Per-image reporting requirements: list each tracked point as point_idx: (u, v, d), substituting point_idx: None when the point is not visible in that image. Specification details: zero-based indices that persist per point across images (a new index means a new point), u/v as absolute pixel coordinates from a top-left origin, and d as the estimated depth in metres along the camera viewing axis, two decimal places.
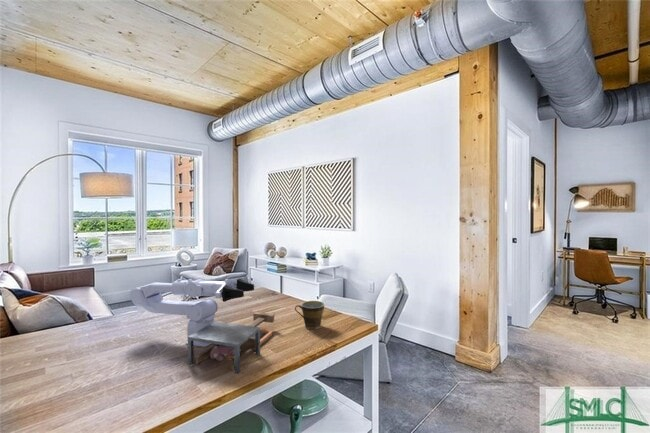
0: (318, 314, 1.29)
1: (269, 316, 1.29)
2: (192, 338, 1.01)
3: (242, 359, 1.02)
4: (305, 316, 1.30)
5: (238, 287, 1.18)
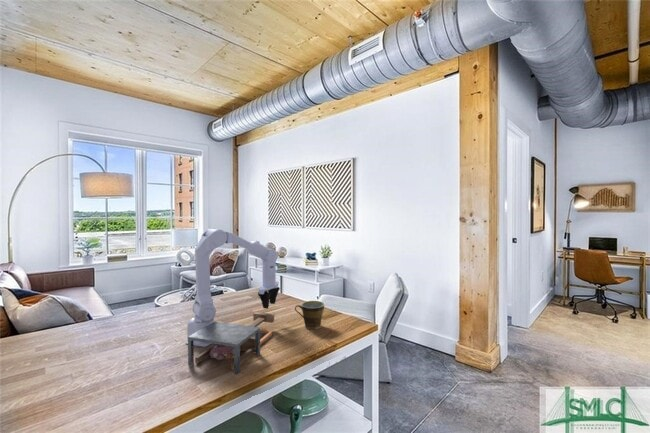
0: (318, 314, 1.29)
1: (269, 316, 1.29)
2: (192, 338, 1.01)
3: (242, 359, 1.02)
4: (305, 316, 1.30)
5: (271, 289, 1.38)
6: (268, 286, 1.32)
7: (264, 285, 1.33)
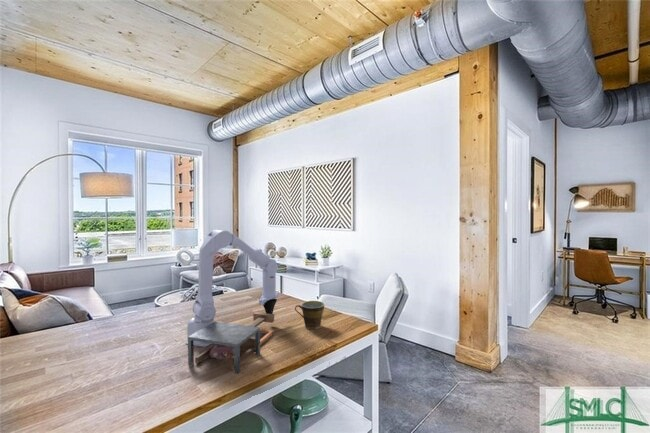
0: (318, 314, 1.29)
1: (269, 316, 1.29)
2: (192, 338, 1.01)
3: (242, 359, 1.02)
4: (305, 316, 1.30)
5: None
6: (268, 296, 1.32)
7: (264, 295, 1.33)
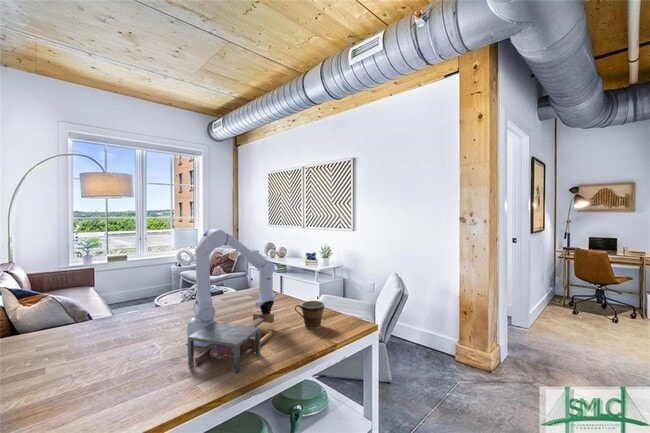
0: (318, 314, 1.29)
1: (269, 316, 1.29)
2: (192, 338, 1.01)
3: (242, 359, 1.02)
4: (305, 316, 1.30)
5: None
6: (265, 298, 1.30)
7: (261, 297, 1.30)
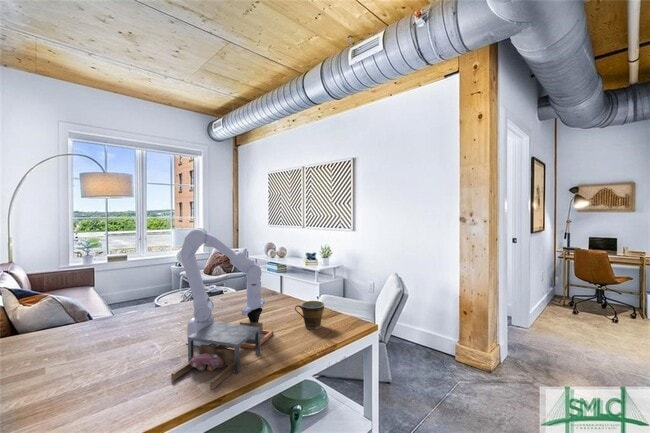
0: (318, 314, 1.29)
1: (257, 325, 1.19)
2: (192, 338, 1.01)
3: (223, 375, 0.92)
4: (305, 316, 1.30)
5: None
6: (252, 306, 1.20)
7: (248, 304, 1.21)
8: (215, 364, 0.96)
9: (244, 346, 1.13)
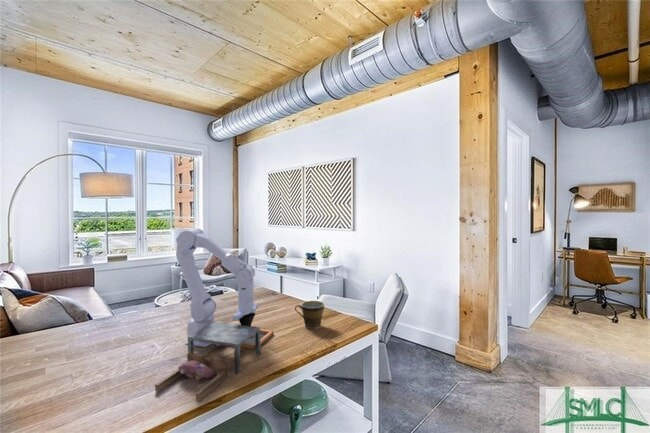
0: (318, 314, 1.29)
1: None
2: (192, 338, 1.01)
3: (210, 386, 0.86)
4: (305, 316, 1.30)
5: None
6: (244, 311, 1.15)
7: (240, 309, 1.15)
8: (200, 373, 0.90)
9: (244, 346, 1.13)
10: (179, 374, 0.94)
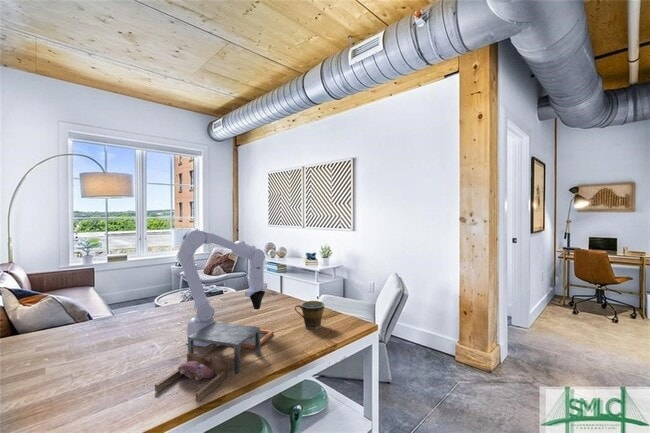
0: (318, 314, 1.29)
1: None
2: (192, 338, 1.01)
3: (210, 387, 0.86)
4: (305, 316, 1.30)
5: None
6: (255, 288, 1.25)
7: (251, 287, 1.26)
8: (199, 374, 0.90)
9: (244, 346, 1.13)
10: (179, 374, 0.94)
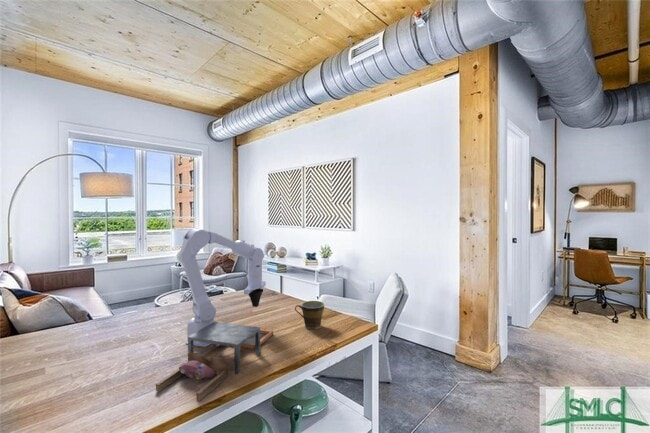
0: (318, 314, 1.29)
1: None
2: (192, 338, 1.01)
3: (211, 386, 0.87)
4: (305, 316, 1.30)
5: None
6: (254, 286, 1.29)
7: (250, 285, 1.29)
8: (200, 373, 0.91)
9: (244, 346, 1.13)
10: (180, 374, 0.94)
